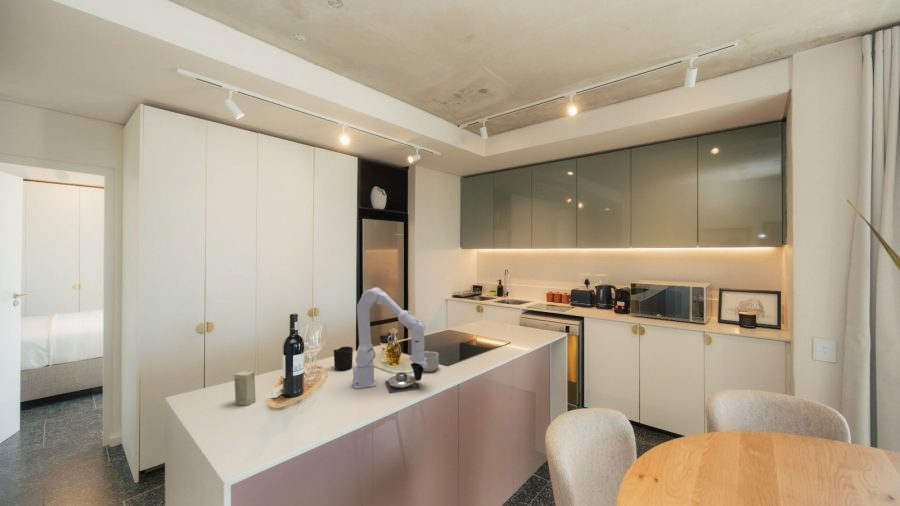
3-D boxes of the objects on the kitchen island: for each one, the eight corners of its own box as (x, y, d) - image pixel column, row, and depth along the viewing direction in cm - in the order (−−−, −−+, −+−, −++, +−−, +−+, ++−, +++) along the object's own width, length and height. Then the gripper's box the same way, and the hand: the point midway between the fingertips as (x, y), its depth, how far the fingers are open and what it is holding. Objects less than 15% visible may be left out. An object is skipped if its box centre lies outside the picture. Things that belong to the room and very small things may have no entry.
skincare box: (256, 401, 145) (255, 371, 144) (247, 406, 141) (246, 375, 140) (243, 399, 146) (242, 370, 146) (234, 404, 142) (233, 374, 142)
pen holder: (334, 366, 186) (333, 347, 186) (352, 364, 189) (352, 345, 189) (333, 372, 177) (333, 352, 177) (353, 370, 180) (353, 350, 180)
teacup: (438, 373, 174) (438, 357, 174) (416, 373, 174) (416, 357, 174) (439, 364, 188) (439, 349, 188) (419, 364, 188) (419, 349, 188)
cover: (397, 382, 156) (397, 375, 156) (395, 378, 161) (395, 372, 161) (408, 380, 158) (408, 374, 158) (405, 377, 163) (405, 370, 163)
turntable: (389, 389, 152) (389, 381, 152) (385, 379, 163) (385, 372, 163) (423, 384, 157) (423, 377, 157) (417, 375, 168) (416, 368, 168)
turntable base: (389, 393, 152) (389, 390, 151) (385, 382, 164) (385, 379, 164) (419, 389, 156) (419, 386, 156) (412, 378, 168) (412, 376, 168)
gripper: (433, 351, 155) (433, 382, 155) (418, 344, 167) (419, 372, 167) (419, 354, 151) (419, 386, 151) (405, 346, 163) (405, 375, 164)
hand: (418, 379), depth 159 cm, fingers closed
